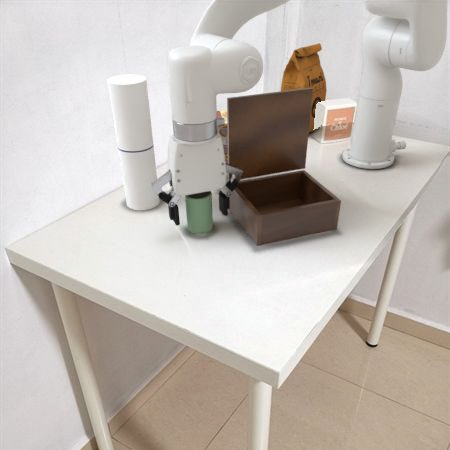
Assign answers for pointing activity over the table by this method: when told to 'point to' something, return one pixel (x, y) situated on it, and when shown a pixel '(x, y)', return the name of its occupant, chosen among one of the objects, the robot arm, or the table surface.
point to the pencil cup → (199, 212)
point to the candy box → (224, 136)
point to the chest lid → (268, 132)
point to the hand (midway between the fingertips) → (200, 217)
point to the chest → (284, 207)
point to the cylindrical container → (134, 139)
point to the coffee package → (306, 76)
